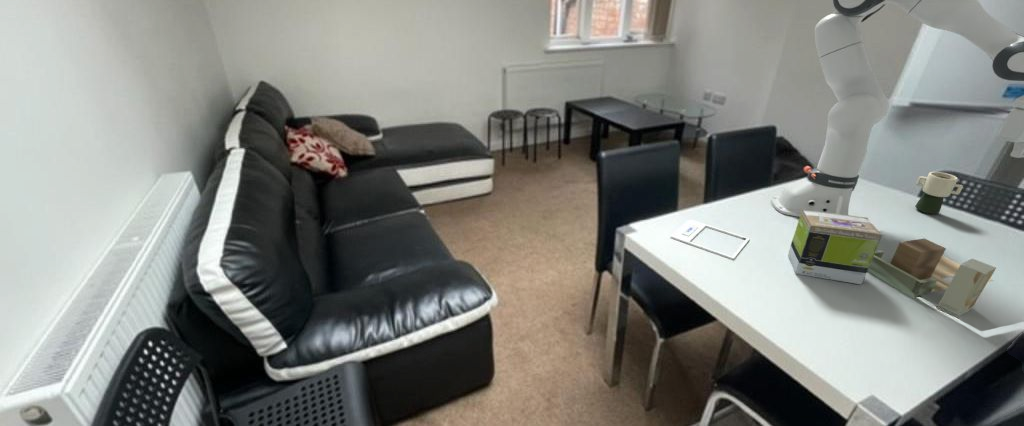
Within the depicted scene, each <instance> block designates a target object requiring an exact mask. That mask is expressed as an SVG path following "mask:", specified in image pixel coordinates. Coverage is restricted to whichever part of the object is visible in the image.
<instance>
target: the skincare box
mask: <svg viewBox="0 0 1024 426" xmlns="http://www.w3.org/2000/svg"><path fill="white" fill-rule="evenodd" d="M960 264H961V265H960V267H959V268H958V270H957V272H956V274H955V275H954V276H952V279H951V280H950V282H949V283H950V284H949V286H948V288H947V289H945V290H944V291H945V292H944V294H943V295H942V297H941V298H940V300H939V302H938V304H937V306H936V309H937V310H939V311H941V312H943V313H945V314H948V315H950V316H953V317H955V318H957V319H959V317H958V316H960V317H961V316H963V315H964V314H966V313H967V312H969V311H970V310H971V309H972V308H973V307H974V306H975V304H976V302H977V300H978V299H979V297H980V296H981V294H982V293H983V291H984V289H985V287H986V285H987V283H988V282H990V281H989V279H992V276H993V275H994V274H995V271H996V269H997V267H995V266H992V265H990V264H988V263H985V262H982V261H979V260H977V259H974V258H970V259H969V260H966V261H965V262H963V263H960ZM950 312H951V313H950ZM952 313H953V314H952ZM956 315H957V316H956Z"/></svg>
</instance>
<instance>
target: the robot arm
mask: <svg viewBox="0 0 1024 426" xmlns="http://www.w3.org/2000/svg"><path fill="white" fill-rule="evenodd" d="M832 2H833V7H834V8H835V10H834V11H832V13H830V14H828V15H826V16H824V17H823V18H821V19H820V20H818V21H819V22H817V23H816V25H815V27H814V42H815V48H816V53H817V57H818V61H819V64H820V67H821V70H822V74H823V76H824V80H825V83H826V84H827V85H828V86H829V87H830V89H831V90H832V92H833V94H834V96H835V97H836V100H837V102H836V103H834V105H833V106H832V107H831V108H830V110H829V112H828V115H827V127H826V133H825V135H826V136H825V140H824V141H825V142H824V146H823V148H822V151H821V155H820V158H819V161H818V164H817V166H816V167H814V168H811V166H809V165H806V166H804V167H803V171H804V172H805V173H806V174H807V177H804V178H802V179H799V180H797V181H793V182H791V183H789V184H786V185H784V187H783V189H782V191H781V193H780V194H779V195H773V196H772V197H771V199H770V203H771V205H772V207H773V208H774V209H775V210H776V211H778V212H779V213H781V214H782V215H788V216H794V217H799V218H800V215H801V212H802V210H808V211H817V212H825V213H834V214H841V215H849V207H850V202H851V197H852V194H853V192H854V190H855V188H856V186H857V184H858V181H859V177H860V175H859V173H860V171H861V167H862V166H863V162H864V160H865V159H866V156H867V153H868V144H869V138H870V135H871V132H872V129H873V128H874V126H875V125H877V124H878V123H879V122H881V121H882V120H883V119H885V117H886V115H887V114H888V111H889V108H890V102H889V99H888V98H887V96H886V95H885V93H884V91H883V88H882V86H881V85H880V83H879V81H878V78H877V76H876V74H875V73H874V70H873V69H872V66H871V63H870V60H869V57H868V53H867V50H866V47H865V46H866V45H865V43H864V39H863V36H862V34H861V29H860V28H861V26H860V25H861V23H862V22H863V23H864V21H866V20H868V19H869V18H870V17H871V16H873V15H874V14H876V13H877V12H879V11H880V10H881V9H882V8H883V7H884V6H886V5H887V4H888V5H889V4H890V5H894V6H896V7H898V8H900V9H901V10H903V11H904V12H905V13H906V14H907V15H909V16H910V17H912V18H913V19H915V20H917V21H918V22H920V23H922V24H924V25H925V26H928V27H931V28H934V29H937V30H943V31H947V32H951V33H954V34H956V35H960V36H961V37H962V38H964V39H966V40H967V41H969V42H970V43H971V44H973V45H974V46H976V47H977V48H978V49H980V50H982V51H983V52H984V53H986V54H987V55H988V56H989V58H990V59H991V60H992V66H991V67H992V70H993V73H994V74H995V75H996V76H997V77H998V78H1000V79H1001V80H1004V81H1007V82H1013V83H1015V82H1019V83H1020V82H1024V35H1021V34H1019V33H1017V32H1015V31H1013V30H1012V29H1010V28H1009V27H1007V26H1006V25H1004V24H1003V23H1002V22H1000V21H999V20H997V19H996V18H994V17H993V16H991V15H990V13H988V12H987V11H986V10H985V8H984V7H983V5H982V4H981V2H980V1H979V0H832ZM1011 107H1013V109H1012V110H1011V111H1010V112H1009V113H1008V115H1007V116H1006V118H1005V120H1004V122H1003V123H1002V125H1001V127H1000V129H999V131H998V139H1000V140H1003V141H1007V142H1011V143H1013V149H1012V151H1011V152H1010V154H1009V155H1010V157H1013V158H1017V159H1019V158H1024V94H1023V95H1022V96H1019V97H1016V99H1015V100H1014V101H1013V103H1012V106H1011Z"/></svg>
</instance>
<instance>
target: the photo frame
mask: <svg viewBox="0 0 1024 426" xmlns="http://www.w3.org/2000/svg"><path fill="white" fill-rule="evenodd" d="M705 228H708V229H711V230H714V231H717V232H720V233H723V234H727V235H730V236H733V237H736V238H739V239H741V240H744V239H745V240H744V241H743V242H742V244H741V245H740V246H739V247H738V248H737V250H736V251H735V252H734V253H733V255H729V254H726V253H723V252H720V251H717V250H715V249H711V248H708V247H706V246H703V245H701V244H698V243H694V242H692V241H693V240H694V239H695V237H697V236H698V235H699V233H701V232H702V231H703V230H704V229H705ZM670 238H671V239H673V240H676V241H679V242H682V243H685V244H687V245H689V246H692V247H696V248H699V249H701V250H704V251H706V252H710V253H713V254H715V255H719V256H721V257H724V258H728V259H730V260H732V261H733V260H735V258H736V257H737V256H738V255H739V254H740V252H741V251H742V250H743V248H744V247H745V246H746V245H747V243H748V242H749V241H750V238H749V237H746V236H744V235H741V234H737V233H734V232H732V231H728V230H724V229H721V228H718V227H715V226H712V225H710V224H706V223H702V222H699V221H697V220H693V219H688V220H687V221H686V222H685V223H684V224H683V225H681V226H680V227H679V228H678V229H677V230H676V231H675V232H673V234H672V235H670Z"/></svg>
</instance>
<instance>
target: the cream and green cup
mask: <svg viewBox="0 0 1024 426" xmlns="http://www.w3.org/2000/svg"><path fill="white" fill-rule="evenodd" d="M923 180H924V182H923V183H922V181H923ZM958 180H959V178H958V177H957V176H955V175H954V174H950V173H946V172H943V171H942V172H940V171H930V172H929V173H928V175H927V176H923V175H921V176H919V177H918V179H917V181H916V183H915V185H916V186H918V187H922V192H923V194H922V195H921V197H920V198H919V200H918V201H917V202H916V204H915V205H914V206H915V208H916V209H917V210H918V211H921V212H923V213H926V214H939V213H940V212H941V209H942V206H943V202H944V198H947V197H949V196H951V194H952V195H959V194H961V191H962V189H963V187H964V186H963V185H962V184H958V183H957V182H958ZM954 188H957V189H956V190H954Z"/></svg>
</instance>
